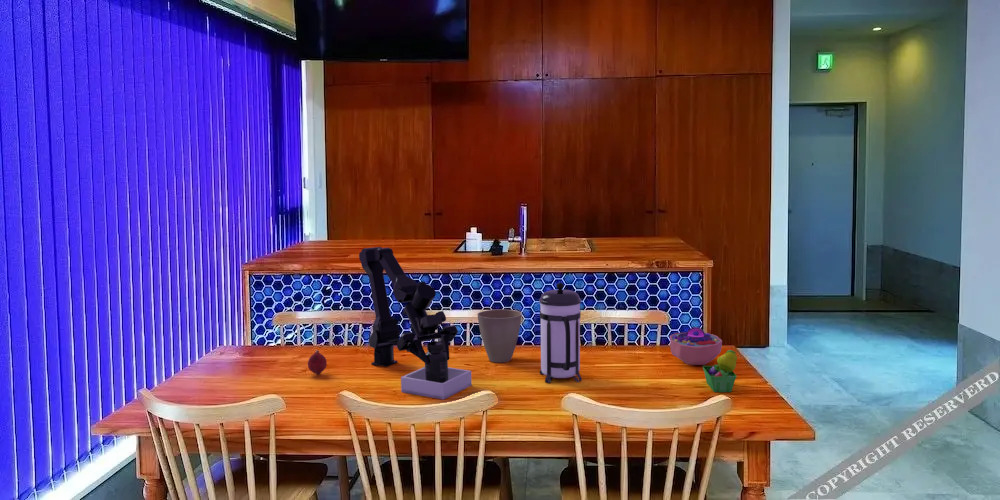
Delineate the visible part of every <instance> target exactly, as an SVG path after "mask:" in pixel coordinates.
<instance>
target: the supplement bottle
mask: <svg viewBox="0 0 1000 500" xmlns="http://www.w3.org/2000/svg"><path fill="white" fill-rule="evenodd" d="M426 346H427V348H426V349H427V351H426V352H425V353H426V355H427V358H428V361H429V364H426V363H424V367H425V377H426V381H432V382H438V383H444V382H446V381H448V367H449V363H448V362H449V360H448V359H447V353H446V352H445V351H444V350H443V349H444V347H443V342H440V341H439V340H436V341H434V340H432V341H430V342H427V343H426Z"/></svg>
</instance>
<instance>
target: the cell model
mask: <svg viewBox="0 0 1000 500" xmlns="http://www.w3.org/2000/svg"><path fill="white" fill-rule="evenodd" d="M669 344H670V345H669V346H670V353H671V355H672V356H674V357H676V358H677V359H679V360H681V361H682V362H683V363H685V364H687V365H690V366H706V365H707V364H708V363H710V362H712V361H713V360H715V358H717V356H718V355H720V353H721V351H722V346H723V345H722V344H723V340H722V339H721V338H720V337H719V336H717V335H715V334H711V333H709V332H705V331H704V329H702V328H701V327H699V326H694V327H690V328H689V329H688V330H687V331H686V332H685V331H684V332H675V333H673V334H671V335H669Z"/></svg>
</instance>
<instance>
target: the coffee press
mask: <svg viewBox="0 0 1000 500" xmlns="http://www.w3.org/2000/svg"><path fill="white" fill-rule="evenodd" d="M564 287H565V285H564V283H563V282H557V284H556V289H550V290H547V291H545V292H543V293H541V296H540V298H539V300H538V302H539V304H540V311H539V318H540V370H539V374H540V375H545V379H544V383H546V384H551V383H552V381H553V379H555V378H556V379H567V378H572V379H574V381H575V382H576V383H579V382H582V380H583V378H582V376H581V374H580V371H581V350H580V349H581V322H580V321H581V315H582V314H581V303H582V298H580V295H579V293H577V292H576V291H573V290H571V289H570V290H569V289H564Z"/></svg>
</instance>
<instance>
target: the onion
mask: <svg viewBox="0 0 1000 500" xmlns="http://www.w3.org/2000/svg"><path fill="white" fill-rule="evenodd" d="M327 363H328V362H327V358H326V357H325V356H324V354H322V353H320V350H318V349H317V350H315V352H314V353H313V354H311V356H310V357H309V359H308V360H307V367H308V370H309V371H311V373H313V374H314V375H316V376H318V375H320V374H322V373H323V371H324V370H325V369H326V367H327Z"/></svg>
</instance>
